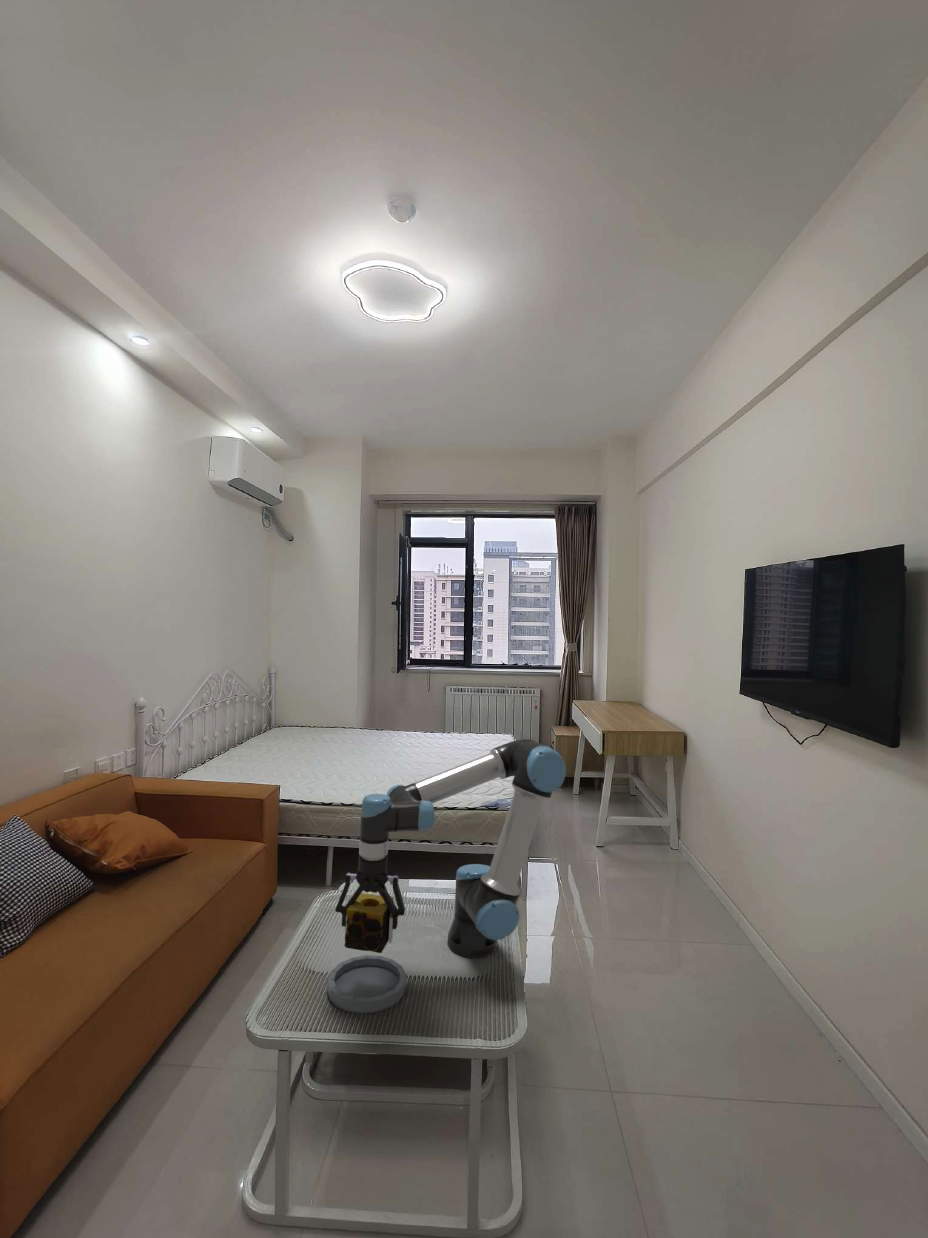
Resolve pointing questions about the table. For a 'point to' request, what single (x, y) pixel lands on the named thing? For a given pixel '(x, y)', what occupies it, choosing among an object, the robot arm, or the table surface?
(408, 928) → the table surface
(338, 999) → the dish
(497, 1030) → the table surface
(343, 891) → the robot arm
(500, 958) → the table surface
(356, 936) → the candle
